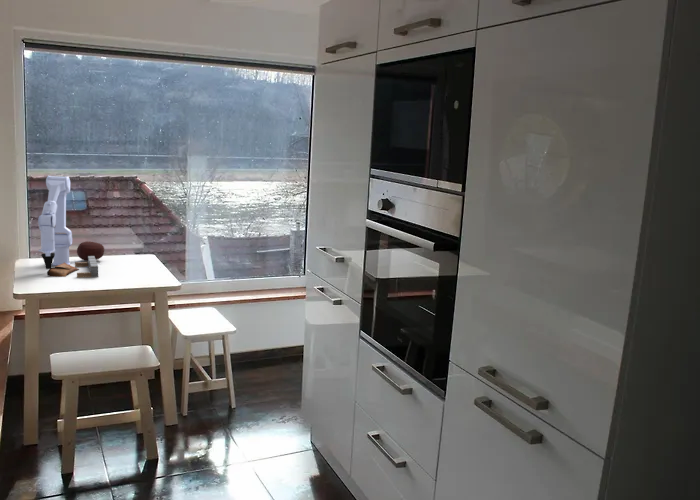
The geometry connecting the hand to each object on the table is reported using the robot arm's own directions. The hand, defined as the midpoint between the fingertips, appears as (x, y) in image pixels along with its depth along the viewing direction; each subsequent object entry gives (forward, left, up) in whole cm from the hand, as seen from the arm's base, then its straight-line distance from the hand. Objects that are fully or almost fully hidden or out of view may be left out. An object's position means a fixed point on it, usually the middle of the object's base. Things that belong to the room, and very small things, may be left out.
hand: (48, 268), depth 295 cm
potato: (-26, +20, -2) cm, 33 cm away
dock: (0, +16, -2) cm, 16 cm away
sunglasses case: (+1, +6, -3) cm, 7 cm away
